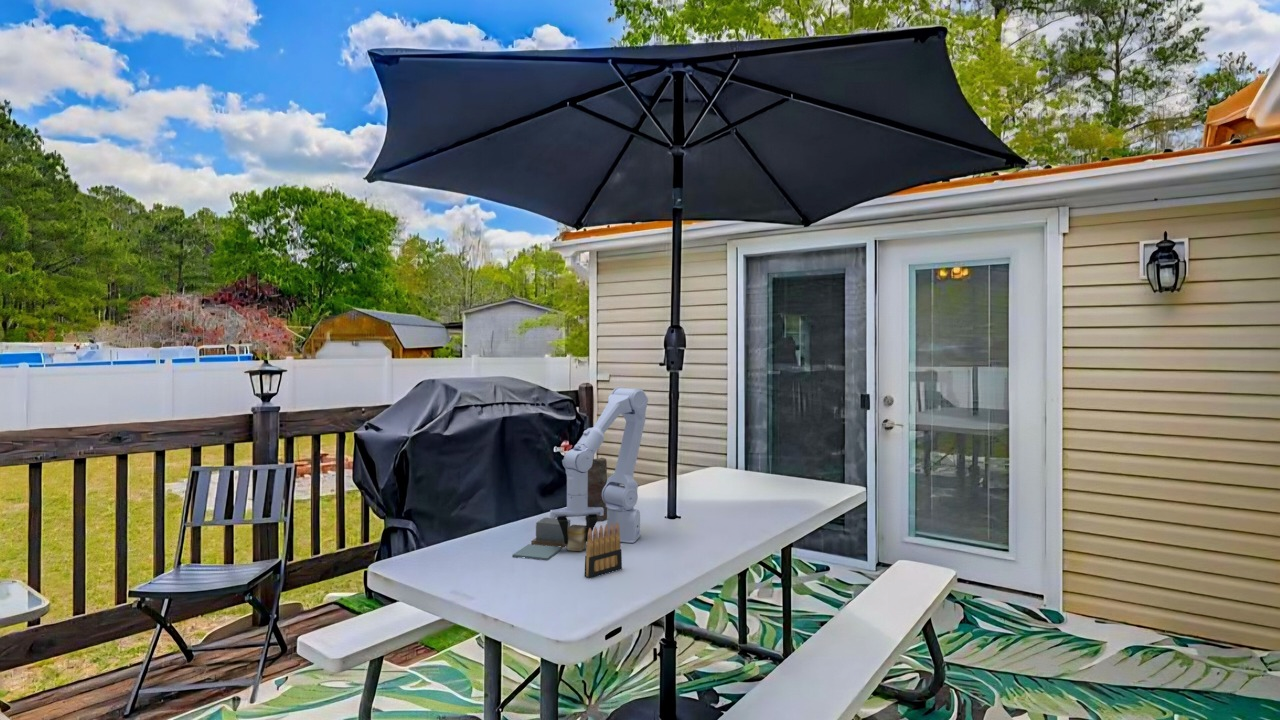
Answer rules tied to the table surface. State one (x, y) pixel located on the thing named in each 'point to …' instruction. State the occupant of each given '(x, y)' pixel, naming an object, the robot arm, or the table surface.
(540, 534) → the mounted unit
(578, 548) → the block
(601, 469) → the candle
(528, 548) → the mat
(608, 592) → the table surface
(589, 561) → the ammunition clip
